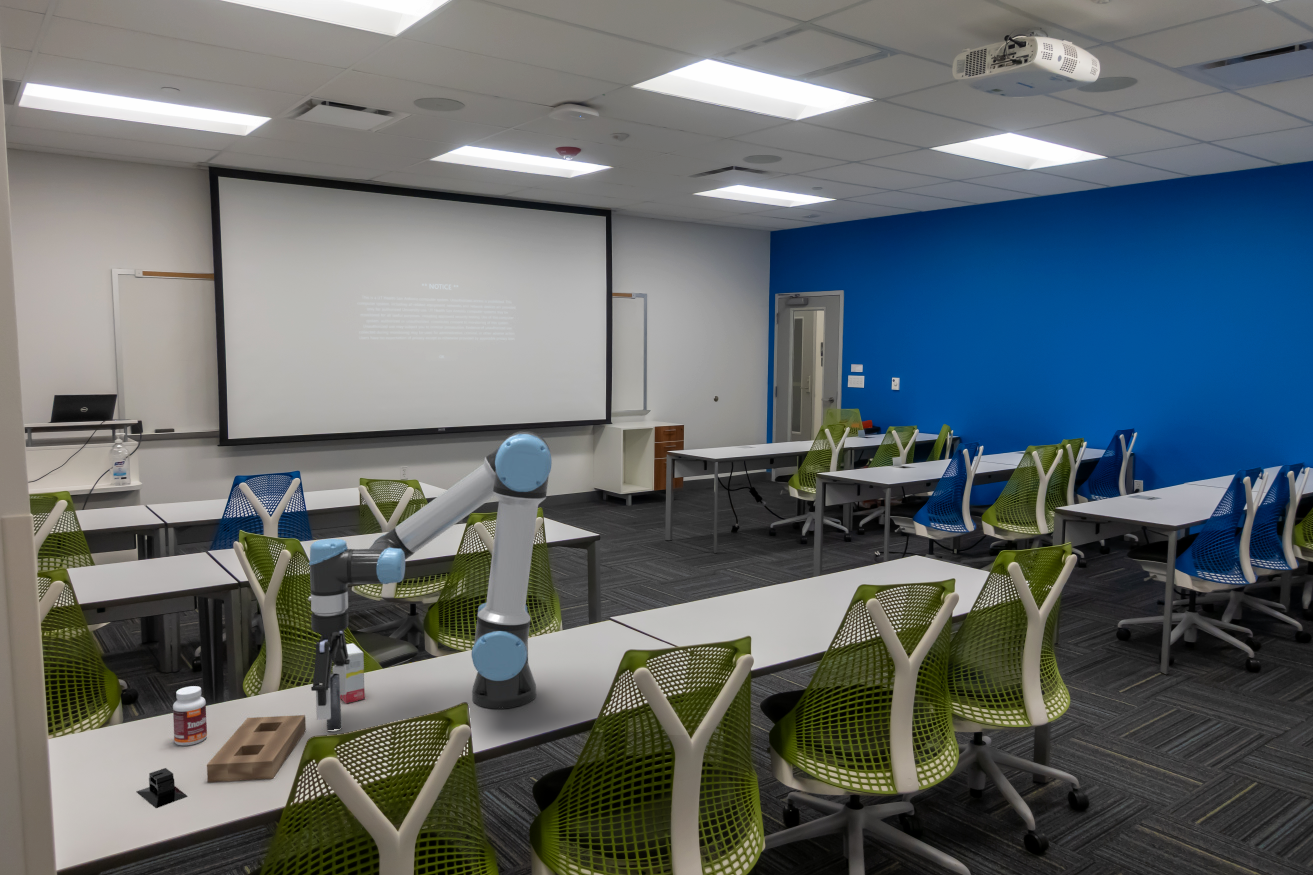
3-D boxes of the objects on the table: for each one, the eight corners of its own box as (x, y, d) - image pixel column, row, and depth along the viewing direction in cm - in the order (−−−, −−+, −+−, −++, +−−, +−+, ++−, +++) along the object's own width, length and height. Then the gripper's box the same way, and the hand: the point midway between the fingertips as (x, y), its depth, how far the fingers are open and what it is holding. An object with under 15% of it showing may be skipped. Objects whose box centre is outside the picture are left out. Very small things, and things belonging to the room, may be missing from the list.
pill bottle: (190, 748, 180) (187, 697, 179) (167, 744, 182) (164, 693, 181) (214, 735, 186) (211, 686, 185) (191, 732, 188) (188, 683, 187)
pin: (343, 725, 191) (341, 673, 190) (339, 731, 188) (337, 678, 187) (328, 726, 191) (326, 673, 190) (325, 732, 188) (323, 678, 187)
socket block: (305, 730, 189) (305, 714, 188) (272, 778, 167) (272, 760, 167) (248, 733, 187) (247, 717, 187) (207, 781, 166) (206, 764, 165)
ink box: (365, 699, 206) (364, 651, 205) (344, 704, 203) (343, 655, 202) (355, 688, 213) (353, 641, 212) (334, 693, 210) (332, 645, 209)
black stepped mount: (129, 793, 163) (128, 769, 162) (170, 779, 168) (169, 756, 168) (154, 815, 155) (153, 790, 154) (197, 800, 160) (196, 776, 160)
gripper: (327, 596, 199) (329, 685, 201) (294, 629, 174) (297, 730, 176) (360, 595, 200) (362, 684, 202) (332, 628, 175) (335, 729, 177)
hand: (332, 706), depth 189 cm, fingers open, 13 cm apart
